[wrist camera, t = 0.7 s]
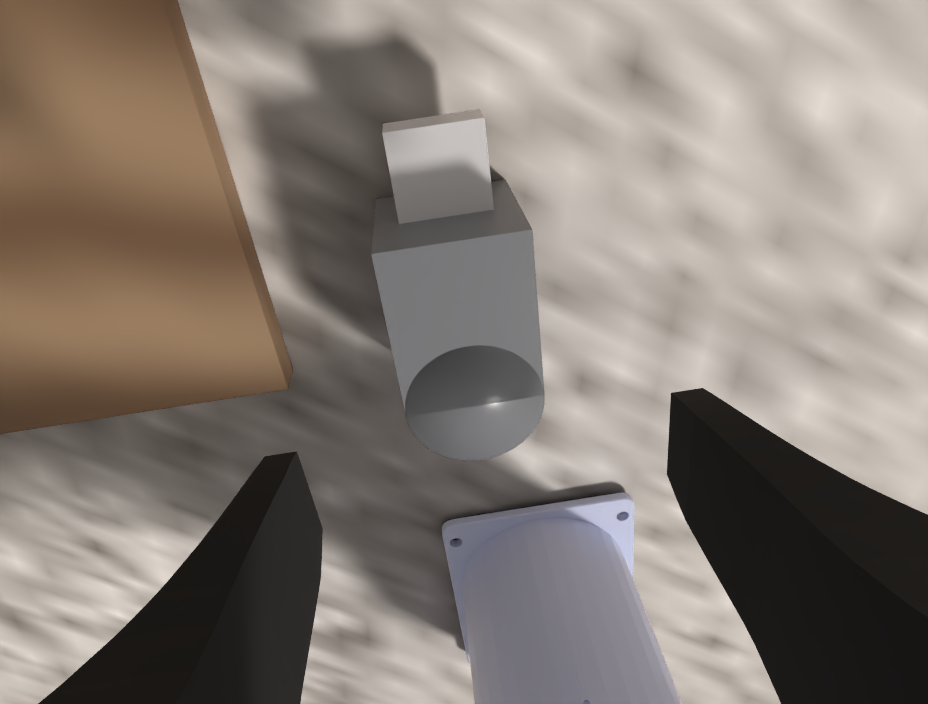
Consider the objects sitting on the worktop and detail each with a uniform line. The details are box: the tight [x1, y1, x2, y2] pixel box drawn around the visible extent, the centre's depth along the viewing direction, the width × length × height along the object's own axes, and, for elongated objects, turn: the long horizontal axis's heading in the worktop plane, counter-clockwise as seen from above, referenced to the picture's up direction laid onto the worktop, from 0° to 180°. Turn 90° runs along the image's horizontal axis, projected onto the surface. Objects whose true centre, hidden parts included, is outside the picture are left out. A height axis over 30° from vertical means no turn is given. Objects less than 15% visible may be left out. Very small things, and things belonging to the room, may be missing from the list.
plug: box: [371, 109, 544, 461], centre depth 19 cm, size 9×4×4 cm, turn 7°
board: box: [0, 0, 293, 434], centre depth 19 cm, size 12×12×1 cm
